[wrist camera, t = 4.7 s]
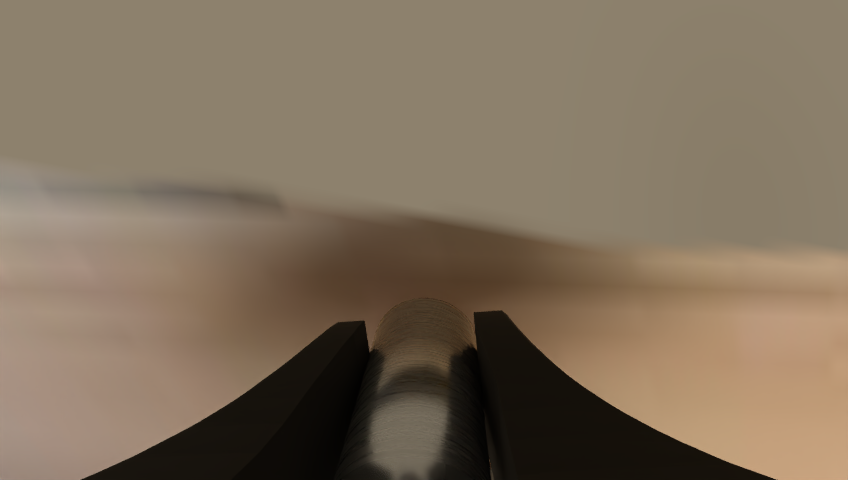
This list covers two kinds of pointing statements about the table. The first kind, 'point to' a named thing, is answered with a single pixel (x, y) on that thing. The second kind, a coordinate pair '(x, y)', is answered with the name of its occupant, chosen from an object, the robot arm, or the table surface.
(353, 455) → the sliding block with knob
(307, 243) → the table surface
